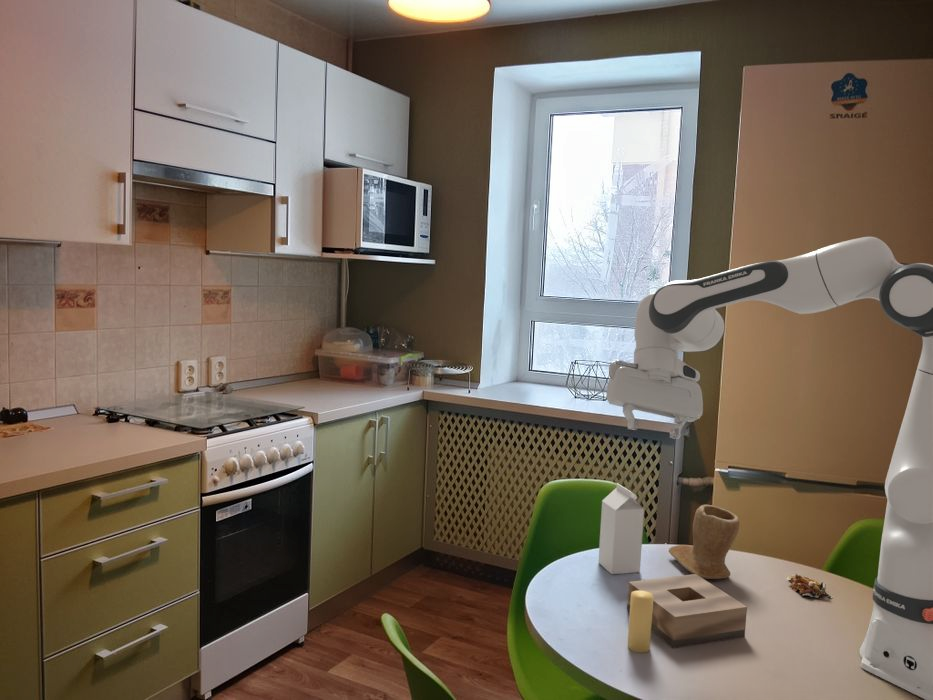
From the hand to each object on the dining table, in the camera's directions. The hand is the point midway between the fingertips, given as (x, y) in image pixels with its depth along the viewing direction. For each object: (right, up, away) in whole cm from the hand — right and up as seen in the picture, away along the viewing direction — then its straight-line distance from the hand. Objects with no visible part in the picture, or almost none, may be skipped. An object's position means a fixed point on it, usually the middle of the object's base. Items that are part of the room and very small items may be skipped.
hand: (654, 433), depth 157 cm
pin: (-6, -38, -12) cm, 40 cm away
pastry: (+37, -37, +18) cm, 55 cm away
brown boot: (+18, -34, +26) cm, 47 cm away
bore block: (+5, -37, -1) cm, 37 cm away
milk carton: (-2, -34, +25) cm, 42 cm away
